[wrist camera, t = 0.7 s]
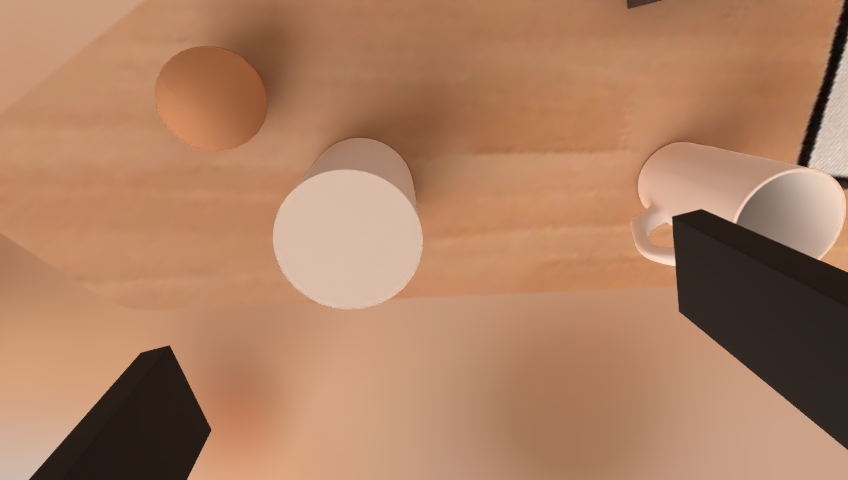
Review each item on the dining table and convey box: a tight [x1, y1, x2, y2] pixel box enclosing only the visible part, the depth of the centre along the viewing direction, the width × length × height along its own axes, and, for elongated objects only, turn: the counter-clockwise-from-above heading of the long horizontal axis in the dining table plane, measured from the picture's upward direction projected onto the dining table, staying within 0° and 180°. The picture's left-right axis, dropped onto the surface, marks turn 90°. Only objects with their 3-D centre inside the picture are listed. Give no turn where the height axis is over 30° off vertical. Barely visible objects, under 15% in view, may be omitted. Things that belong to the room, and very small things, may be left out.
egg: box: [155, 47, 268, 151], centre depth 31 cm, size 6×6×8 cm
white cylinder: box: [273, 138, 423, 309], centre depth 32 cm, size 8×8×12 cm
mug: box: [630, 142, 846, 266], centre depth 34 cm, size 10×7×12 cm, turn 121°
